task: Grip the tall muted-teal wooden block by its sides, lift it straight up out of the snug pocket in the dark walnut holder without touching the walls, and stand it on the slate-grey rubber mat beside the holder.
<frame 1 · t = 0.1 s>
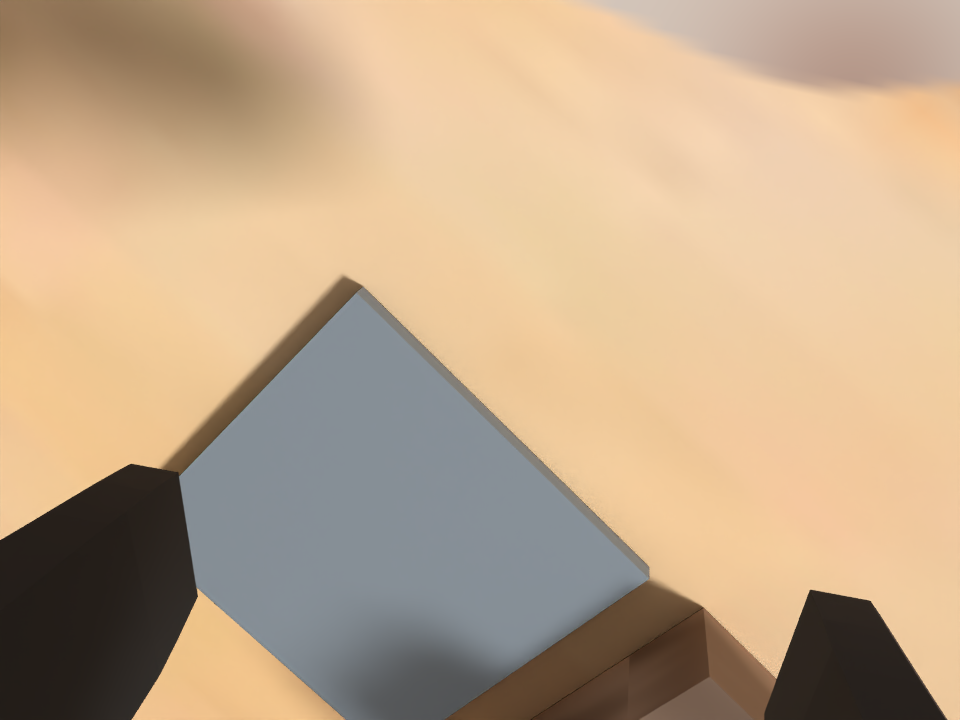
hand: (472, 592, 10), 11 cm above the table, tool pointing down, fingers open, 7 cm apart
rubber mat: (380, 541, 23), on the table
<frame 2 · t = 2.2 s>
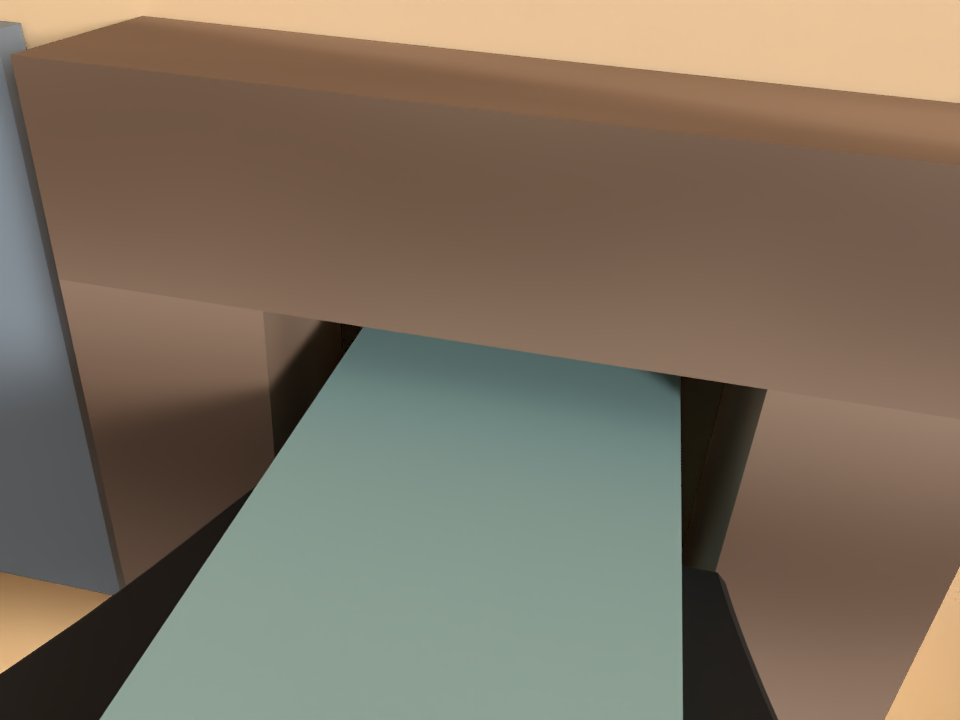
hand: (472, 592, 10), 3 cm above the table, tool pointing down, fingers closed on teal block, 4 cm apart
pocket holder: (519, 425, 13), on the table
teal block: (452, 667, 9), in the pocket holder, touching gripper
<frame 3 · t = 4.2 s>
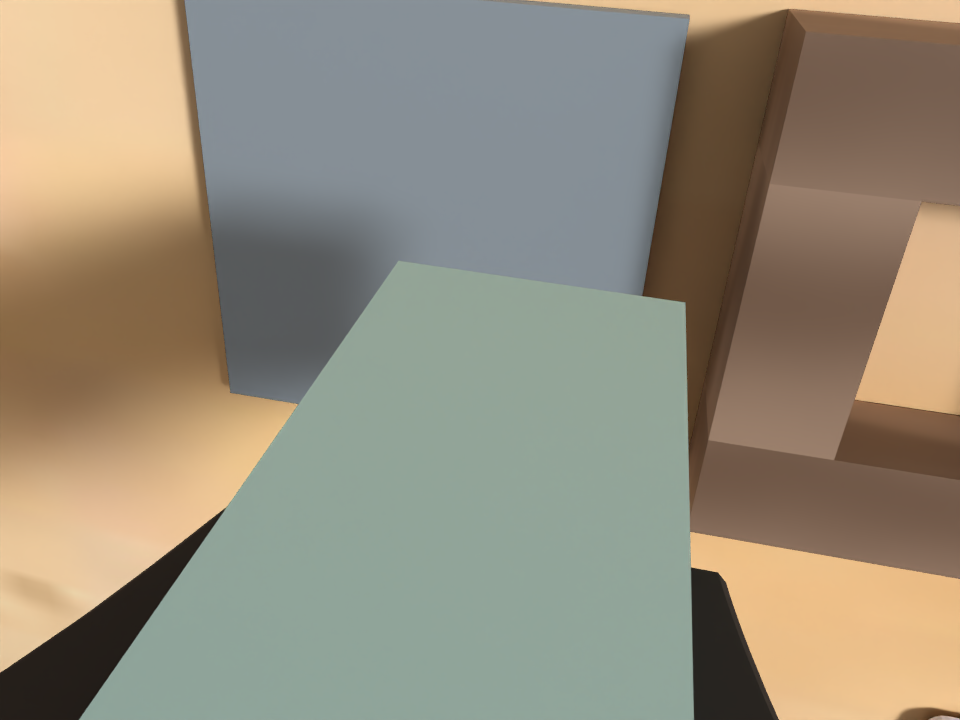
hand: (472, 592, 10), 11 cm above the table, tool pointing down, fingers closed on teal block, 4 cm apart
rubber mat: (425, 230, 19), on the table
teal block: (460, 632, 9), point 11 cm above the table, touching gripper
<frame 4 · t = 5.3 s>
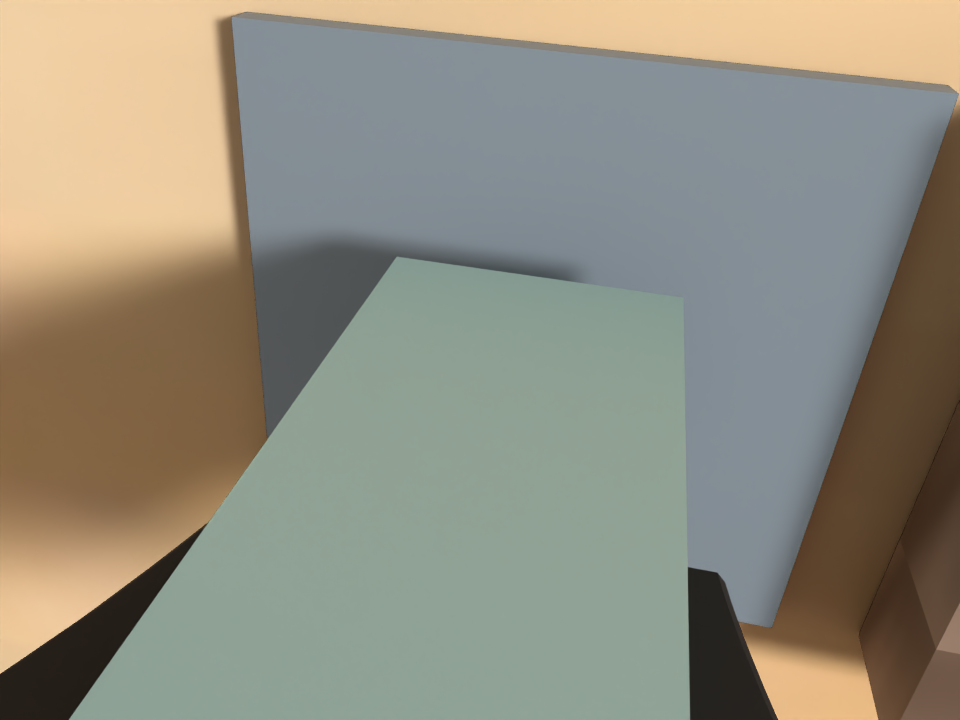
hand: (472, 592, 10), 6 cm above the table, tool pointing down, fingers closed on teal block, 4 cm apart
rubber mat: (541, 349, 15), on the table
teal block: (458, 626, 9), point 7 cm above the table, touching gripper
when the fingers open (5 cm above the table, at t = 6.3 s): teal block stays where it is, resting on rubber mat.
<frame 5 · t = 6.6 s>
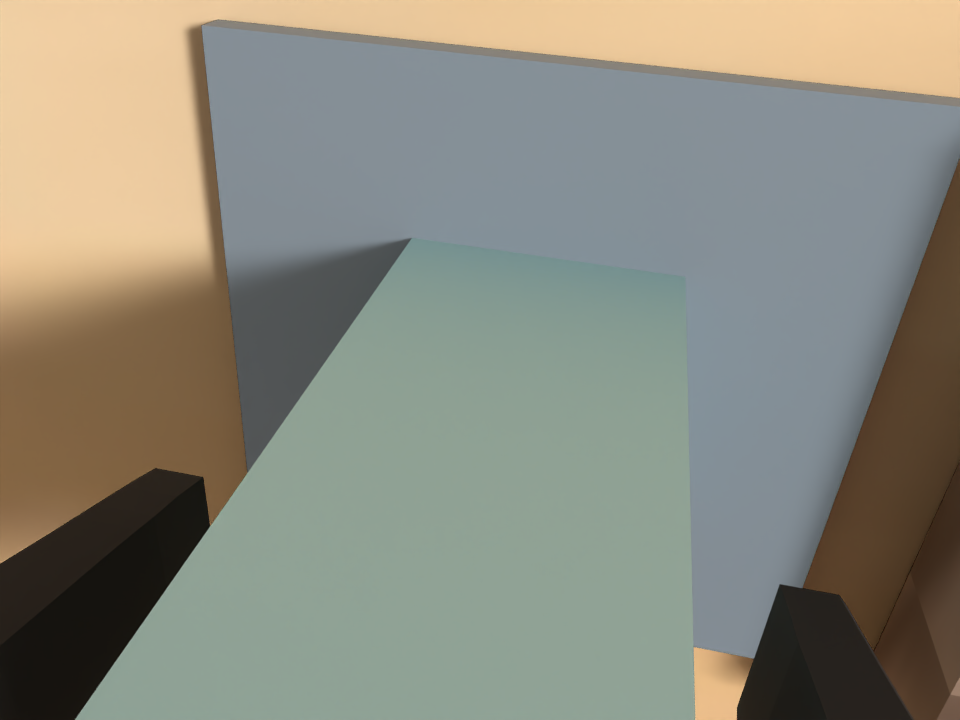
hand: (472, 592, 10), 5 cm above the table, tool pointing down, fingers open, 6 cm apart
rubber mat: (533, 373, 14), on the table
teal block: (474, 579, 9), on the rubber mat
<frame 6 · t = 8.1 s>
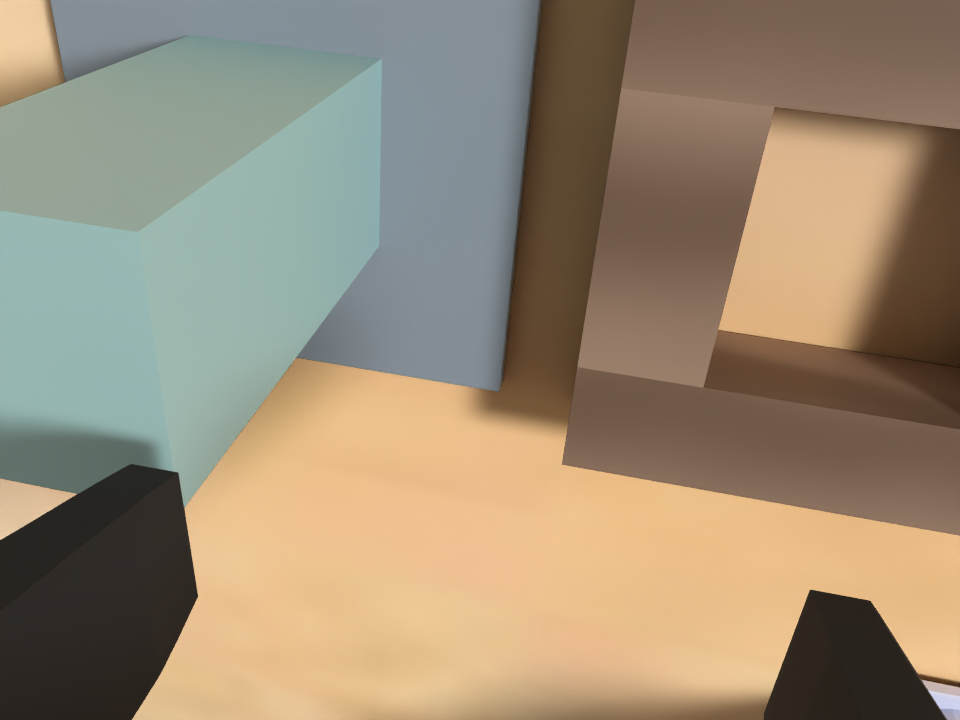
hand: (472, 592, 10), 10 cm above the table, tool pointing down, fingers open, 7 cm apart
rubber mat: (297, 152, 18), on the table
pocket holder: (867, 230, 17), on the table
teal block: (186, 223, 14), on the rubber mat
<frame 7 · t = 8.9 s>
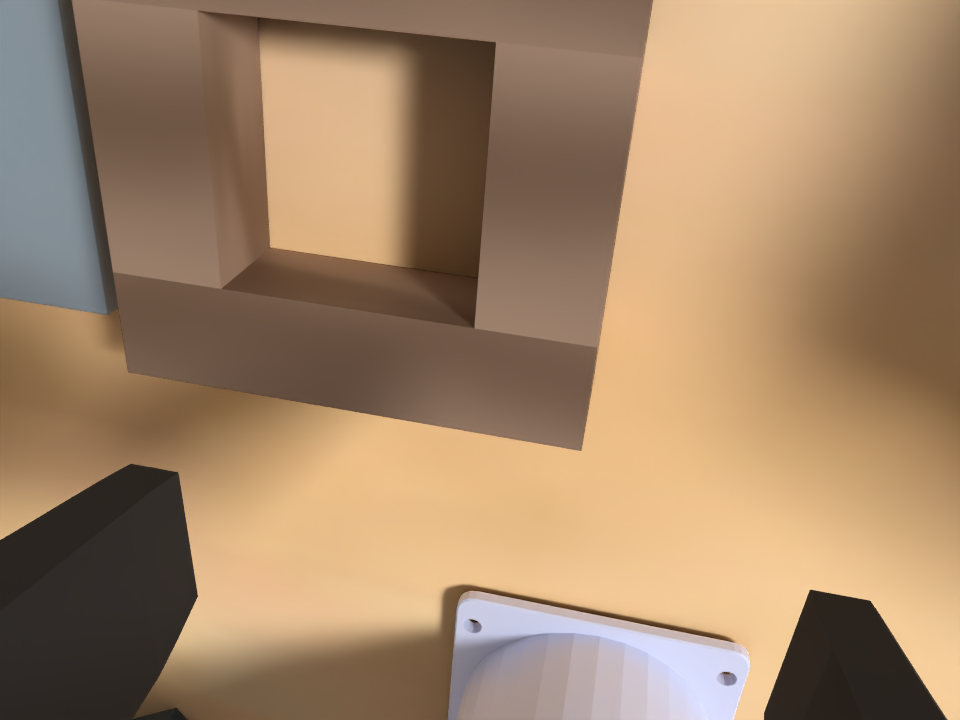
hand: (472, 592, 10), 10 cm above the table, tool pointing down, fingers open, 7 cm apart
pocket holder: (382, 146, 18), on the table
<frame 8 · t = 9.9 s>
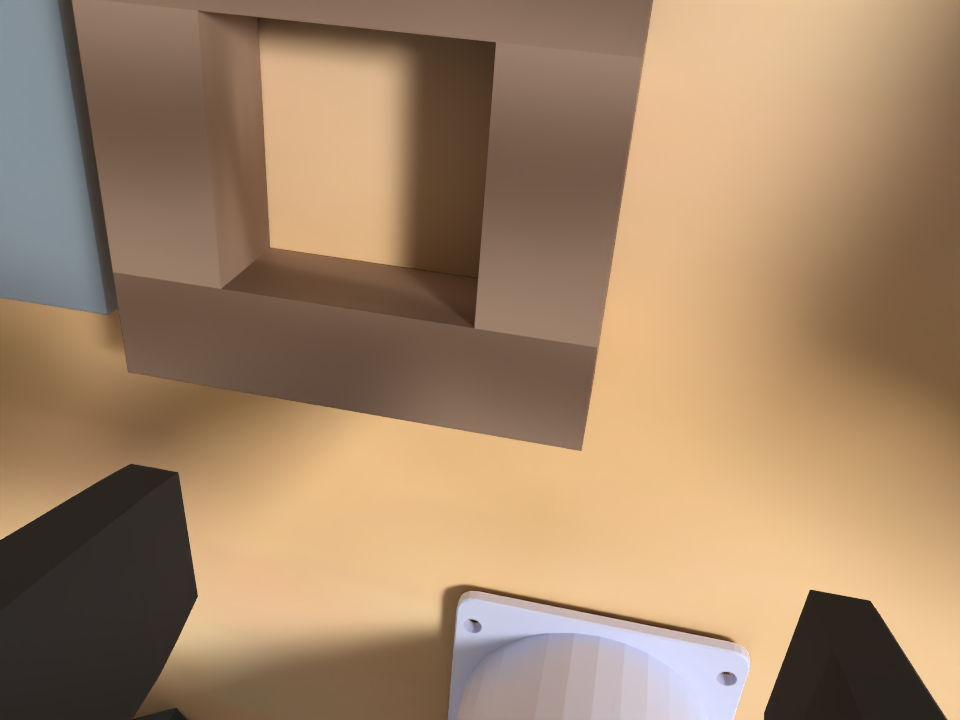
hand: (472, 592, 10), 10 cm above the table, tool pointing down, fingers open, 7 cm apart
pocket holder: (382, 146, 18), on the table
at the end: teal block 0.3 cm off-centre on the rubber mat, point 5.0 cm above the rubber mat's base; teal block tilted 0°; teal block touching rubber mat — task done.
